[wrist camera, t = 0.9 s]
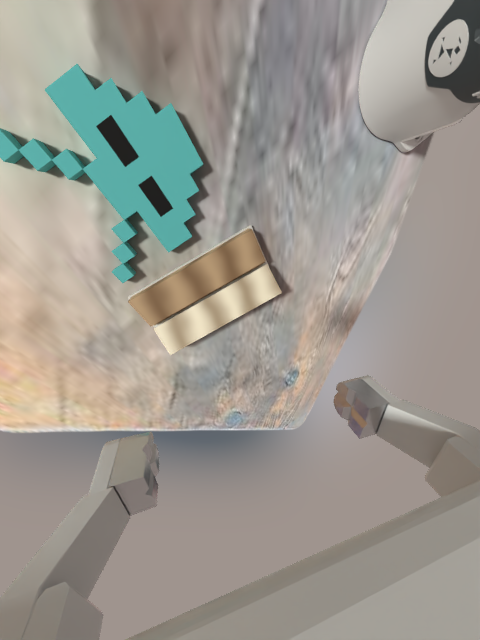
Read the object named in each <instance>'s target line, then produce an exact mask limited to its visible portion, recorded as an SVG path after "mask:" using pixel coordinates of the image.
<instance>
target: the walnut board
mask: <svg viewBox="0 0 480 640" xmlns="http://www.w3.org/2000/svg"><path fill="white" fill-rule="evenodd" d="M265 261H266V260H265V258H264V255H263V253H262V251H261V249H260V246H259V244H258V242H257V239H256V237H255V235H254V232H253V230H252V229H250V228H248V229H247V230H245V231H243V232H241V233H240V234H238V235H236V236H235V237H233V238H231V239H229V240H228V241H226V242H224V243H223V244H221V245H219V246H217V247H216V248H214V249H212V250H211V251H209V252H207V253H206V254H204V255H202V256H200V257H199V258H197V259H195V260H194V261H192V262H190V263H188V264H187V265H185V266H183V267H182V268H180V269H178V270H176V271H175V272H173V273H171V274H170V275H168V276H166V277H164V278H163V279H161V280H159V281H158V282H156V283H154V284H152V285H151V286H149V287H147V288H146V289H144V290H142V291H141V292H139V293H137V294H135V295H134V296H132V297H131V298H130V299H129V301H128V302H129V303H130V305H131V306H132V307H133V308H134V309H135V310H136V311H137V312H138V313H139V314H140V315H141V316H142V318H143V319H144V320H145V321H146V322H147V323H148V324H149V325H150V326H153V325H154V326H155V325H157V324H158V323H160V322H162V321H164V320H165V319H167V318H169V317H171V316H172V315H174V314H176V313H178V312H179V311H181V310H183V309H185V308H186V307H188V306H190V305H192V304H193V303H195V302H197V301H199V300H200V299H202V298H204V297H206V296H207V295H209V294H211V293H213V292H214V291H216V290H218V289H220V288H221V287H223V286H225V285H227V284H228V283H230V282H232V281H234V280H235V279H237V278H239V277H241V276H242V275H244V274H246V273H248V272H249V271H251V270H253V269H255V268H256V267H258V266H260V265H262V264H263V263H265Z"/></svg>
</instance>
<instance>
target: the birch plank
mask: <svg viewBox="0 0 480 640" xmlns="http://www.w3.org/2000/svg"><path fill="white" fill-rule="evenodd" d="M281 293H282V292H281V290H280V288H279V286H278V284H277V282H276V280H275V278H274V276H273V274H272V273H271V271H270V269H269V267H268V265H267V264H266V265H265V266H263V267H261V268H259V269H258V270H256V271H254V272H252V273H251V274H249V275H247V276H245V277H244V278H242V279H240V280H238V281H237V282H235V283H233V284H231V285H230V286H228V287H226V288H224V289H223V290H221V291H219V292H217V293H216V294H214V295H212V296H210V297H208V298H207V299H205V300H203V301H201V302H200V303H198V304H196V305H194V306H193V307H191V308H189V309H187V310H186V311H184V312H182V313H180V314H179V315H177V316H175V317H173V318H172V319H170V320H168V321H166V322H165V323H163V324H161V325H159V326H158V327H156V328H154V331H155V332H156V334H157V335H158V337H159V338H160V340H161V341H162V343H163V344H164V346H165V347H166V349H167V351H168V352H169V354H170V355H171V354H173V353H175V352H177V351H179V350H180V349H182V348H184V347H186V346H188V345H189V344H191V343H193V342H195V341H197V340H198V339H200V338H202V337H204V336H205V335H207V334H209V333H211V332H213V331H214V330H216V329H218V328H220V327H222V326H223V325H225V324H227V323H229V322H231V321H232V320H234V319H236V318H238V317H240V316H241V315H243V314H245V313H247V312H248V311H250V310H252V309H254V308H256V307H257V306H259V305H261V304H263V303H265V302H266V301H268V300H270V299H272V298H274V297H275V296H277V295H279V294H281Z"/></svg>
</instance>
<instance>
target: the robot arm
mask: <svg viewBox="0 0 480 640" xmlns="http://www.w3.org/2000/svg"><path fill="white" fill-rule="evenodd" d="M359 103H360V109H361V113H362V116H363V119H364V121H365V123H366V125H367V127H368V129H369V130H370V131H371V132H372V133H373V134H374V135H375V136H377V137H378V138H380V139H383V140H387V141H391V142H393V143H394V144H395V146H396V147H397V148H398V149H399V150H400V151H401V152H403V153H405V152H408V151H411V150H413V149H414V148H415V147H416V146H418V145H419V144H420V143H421V142H422V141H424V140H425V139H426V138H427V137H428V136H430V135H431V134H432V133H433V132H434V131H437V130H440V129H443V128H446V127H449V126H452V125H455V124H457V123H459V122H460V121H461V120H462V119H463V117H464V116H466V115H467V114H469V113H470V112H471V111H472V110H473V109H474V108H476V107H477V105H479V104H480V0H387V4H386V7H385V10H384V12H383V14H382V16H381V18H380V20H379V22H378V23H377V25H376V27H375V29H374V31H373V33H372V35H371V37H370V39H369V42H368V44H367V47H366V50H365V53H364V57H363V61H362V65H361V70H360V77H359ZM336 390H337V391H338V393H337V394H336V395H335V397H334V406H335V409H336V410H337V412H338V413H339V415H340V416H341V417H342V418H344V419H346V420H348V425H349V427H350V428H351V429H352V430H353V432H354V433H355V434H356V435H357V436H358V438H359V439H360V438H364V437H367V436H371V435H374V434H377V436H379V437H380V438H382V439H384V440H385V441H387V442H389V443H390V444H392V445H393V446H395V447H397V448H398V449H400V450H401V451H403V452H405V453H407V454H408V455H410V456H411V457H413V458H414V459H416V460H418V461H419V462H421V463H423V464H424V465H426V466H428V467H429V470H428V471H427V473H426V475H425V480H426V481H427V482H428V483H429V485H430V486H431V487H432V488H433V489H434V490H435V491H436V492H437V493H438V494H439V495H440V496H441V498H439V499H437V500H435V501H432V502H430V503H428V504H425V505H423V506H421V507H419V508H417V509H414V510H412V511H410V512H408V513H405V514H404V515H401V516H399V517H397V518H394V519H392V520H390V521H388V522H385V523H383V524H381V525H379V526H377V527H374V528H372V529H370V530H368V531H365V532H364V533H361V534H359V535H357V536H354V537H352V538H350V539H348V540H345V541H343V542H341V543H339V544H337V545H335V546H332V547H330V548H328V549H325V550H323V551H321V552H319V553H317V554H314V555H312V556H310V557H308V558H305V559H303V560H301V561H299V562H297V563H294V564H292V565H290V566H288V567H286V568H283V569H281V570H279V571H277V572H274V573H272V574H270V575H268V576H265V577H263V578H261V579H259V580H257V581H255V582H252V583H250V584H248V585H246V586H243V587H241V588H239V589H237V590H234V591H232V592H230V593H228V594H226V595H224V596H221V597H219V598H217V599H214V600H212V601H210V602H208V603H206V604H203V605H201V606H199V607H197V608H194V609H192V610H190V611H188V612H186V613H183V614H181V615H179V616H177V617H175V618H172V619H170V620H168V621H166V622H163V623H161V624H159V625H157V626H155V627H153V628H150V629H148V630H146V631H143V632H141V633H139V634H137V635H134V636H132V637H130V638H128V639H126V640H480V431H479V430H478V429H477V428H475V427H472V426H470V425H467V424H465V423H462V422H459V421H457V420H454V419H452V418H449V417H447V416H444V415H441V414H439V413H436V412H434V411H431V410H429V409H426V408H423V407H421V406H418V405H415V404H413V403H410V402H408V401H405V400H399V399H398V398H397V397H396V396H394V395H393V394H392V393H391V392H389V391H388V390H387V389H385V387H383V386H382V385H381V384H379V383H378V382H377V381H376V380H375V379H373V378H372V377H371V376H368V375H367V376H363V377H359V378H355V379H351V380H347V381H343V382H340V383H338V385H337V387H336ZM153 439H154V437H153V434H152V432H147V433H143V434H138V435H134V436H130V437H125V438H121V439H118V440H113V441H109V442H106V444H105V445H104V447H103V449H102V452H101V455H100V458H99V462H98V465H97V468H96V472H95V475H94V478H93V481H92V484H91V487H90V491H89V494H87V495H84V496H83V497H82V498H81V499H80V500H79V502H78V503H77V504H76V505H75V506H74V508H73V509H72V510H71V511H70V513H69V514H68V515H67V516H66V518H65V519H64V520H63V521H62V522H61V524H60V525H59V526H58V527H57V529H56V530H55V531H54V532H53V533H52V535H51V536H50V537H49V538H48V540H47V541H46V542H45V543H44V544H43V546H42V547H41V548H40V549H39V551H38V552H37V553H36V554H35V555H34V557H33V558H32V559H31V560H30V562H29V563H28V564H27V565H26V566H25V568H24V569H23V570H22V571H21V573H20V574H19V575H18V576H17V578H16V579H15V580H14V581H13V582H12V584H11V585H10V586H9V587H8V588H7V590H6V591H5V592H4V593H3V595H2V596H1V597H0V640H99V637H100V631H101V625H102V619H103V614H102V612H101V610H100V609H99V608H98V607H96V606H95V605H94V604H92V603H91V602H90V601H89V600H88V597H89V595H90V593H91V591H92V589H93V588H94V585H95V584H96V582H97V580H98V578H99V576H100V574H101V572H102V570H103V569H104V567H105V565H106V563H107V561H108V559H109V557H110V555H111V553H112V552H113V550H114V548H115V546H116V544H117V542H118V540H119V538H120V536H121V535H122V533H123V531H124V529H125V527H126V525H127V523H128V521H129V519H130V516H131V515H134V514H137V513H139V512H142V511H145V510H148V509H150V508H153V507H156V506H157V492H158V484H157V481H156V478H155V477H156V475H157V474H158V472H159V453H158V448H157V445H156V444H154V443H153Z"/></svg>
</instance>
